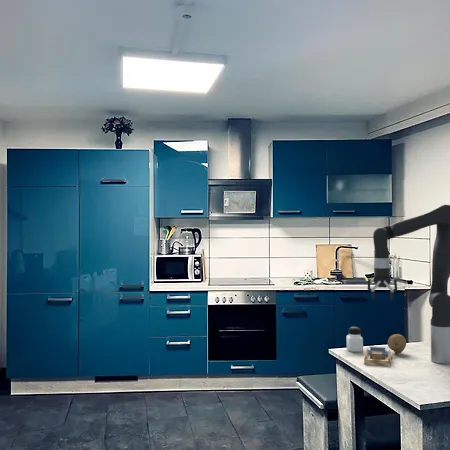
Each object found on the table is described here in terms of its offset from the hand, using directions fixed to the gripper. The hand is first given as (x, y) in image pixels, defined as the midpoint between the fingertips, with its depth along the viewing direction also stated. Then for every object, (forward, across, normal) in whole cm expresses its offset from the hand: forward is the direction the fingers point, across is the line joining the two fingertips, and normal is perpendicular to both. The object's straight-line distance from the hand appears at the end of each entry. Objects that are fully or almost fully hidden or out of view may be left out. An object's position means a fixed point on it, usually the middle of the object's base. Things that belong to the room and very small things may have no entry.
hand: (382, 299), depth 245 cm
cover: (+26, -3, -6) cm, 26 cm away
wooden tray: (+28, -3, -10) cm, 30 cm away
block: (+28, -3, -14) cm, 32 cm away
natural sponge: (+29, +6, +7) cm, 30 cm away
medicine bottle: (+29, -14, +8) cm, 33 cm away
